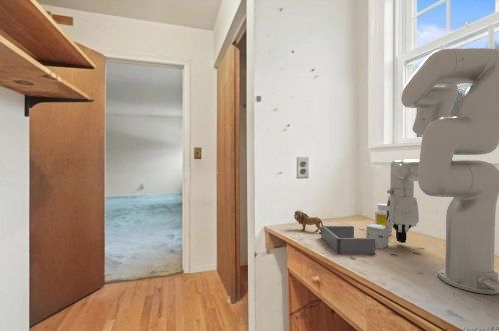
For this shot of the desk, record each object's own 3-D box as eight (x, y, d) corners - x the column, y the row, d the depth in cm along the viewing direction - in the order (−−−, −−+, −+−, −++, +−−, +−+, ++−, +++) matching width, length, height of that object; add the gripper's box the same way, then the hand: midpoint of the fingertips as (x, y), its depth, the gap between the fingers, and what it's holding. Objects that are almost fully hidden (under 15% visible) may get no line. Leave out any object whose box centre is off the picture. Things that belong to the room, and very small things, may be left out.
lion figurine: (292, 231, 115) (292, 211, 115) (295, 228, 120) (295, 209, 120) (326, 234, 109) (326, 213, 109) (327, 231, 114) (328, 211, 114)
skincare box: (365, 245, 96) (365, 225, 96) (372, 241, 100) (372, 223, 100) (382, 249, 91) (383, 228, 91) (389, 245, 95) (389, 226, 95)
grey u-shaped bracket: (375, 253, 86) (375, 239, 86) (337, 253, 86) (337, 238, 86) (352, 238, 104) (352, 225, 104) (321, 238, 104) (321, 225, 104)
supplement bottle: (394, 236, 108) (394, 205, 108) (377, 235, 109) (377, 205, 109) (388, 231, 114) (389, 203, 114) (373, 231, 116) (373, 202, 116)
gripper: (387, 194, 92) (386, 245, 92) (428, 194, 92) (427, 245, 92) (376, 191, 99) (376, 238, 99) (414, 192, 99) (414, 239, 99)
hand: (401, 241), depth 96 cm, fingers closed
